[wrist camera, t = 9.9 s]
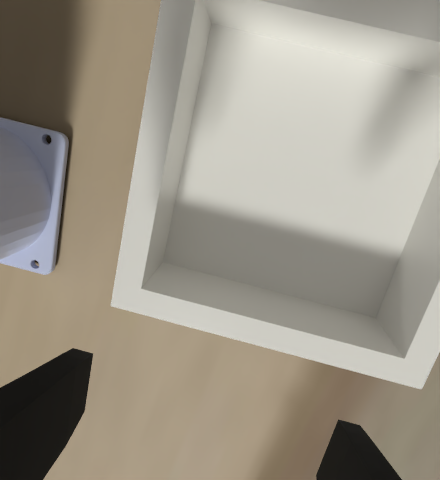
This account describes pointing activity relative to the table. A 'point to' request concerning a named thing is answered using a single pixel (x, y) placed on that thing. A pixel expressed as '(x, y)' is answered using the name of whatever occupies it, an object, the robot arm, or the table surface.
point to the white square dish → (292, 180)
